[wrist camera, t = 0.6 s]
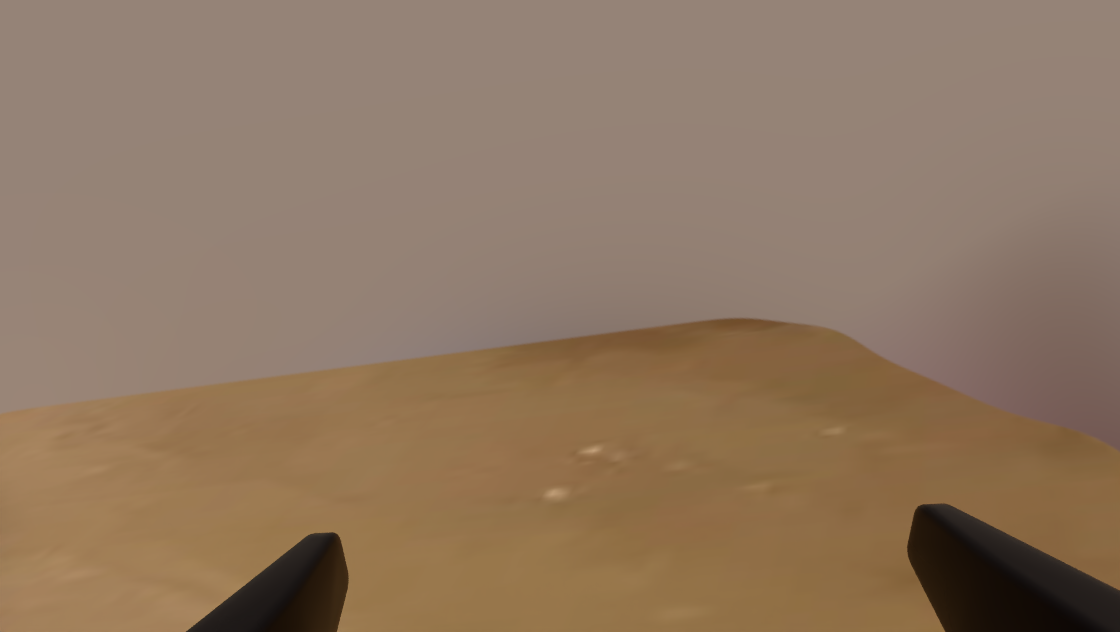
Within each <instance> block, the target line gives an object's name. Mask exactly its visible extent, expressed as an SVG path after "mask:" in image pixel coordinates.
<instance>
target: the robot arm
mask: <svg viewBox="0 0 1120 632" xmlns="http://www.w3.org/2000/svg"><path fill="white" fill-rule="evenodd" d="M907 552H908V557H909V560H910V563H911V565H912V567H913V569H914V571H915V573H916V575H917V577H918V579H919V581H920V583H921V585H922V587H923V589H924V591H925V593H926V595H927V597H928V599H929V601H930V603H931V604H932V606H933V608H934V610H935V612H936V614H937V616H938V618H939V620H940V622H941V624H942V626H943V628H944V630H945V632H1120V591H1119V590H1118V589H1116V588H1114V587H1112V586H1110V585H1108V584H1106V583H1104V582H1102V581H1100V580H1098V579H1096V578H1094V577H1092V576H1090V575H1088V574H1086V573H1084V572H1082V571H1080V570H1078V569H1076V568H1074V567H1072V566H1070V565H1068V564H1066V563H1064V562H1062V561H1060V560H1058V559H1056V558H1054V557H1052V556H1050V555H1048V554H1046V553H1044V552H1042V551H1040V550H1038V549H1036V548H1034V547H1032V546H1030V545H1028V544H1026V543H1024V542H1022V541H1020V540H1018V539H1016V538H1014V537H1012V536H1010V535H1008V534H1006V533H1004V532H1002V531H1000V530H998V529H996V528H994V527H992V526H990V525H988V524H986V523H984V522H982V521H980V520H979V519H977V518H975V517H973V516H971V515H969V514H967V513H965V512H963V511H961V510H959V509H957V508H955V507H953V506H951V505H948V504H923V505H920V506H918V507H917V509H916V510H915V513H914V517H913V521H912V526H911V531H910V535H909V540H908V545H907ZM348 579H349V578H348V570H347V565H346V561H345V557H344V552H343V548H342V544H341V540H340V537H339V536H338V534H336V533H333V532H332V533H314V534H310V535H308V536H307V537H305V538H304V539H303V540H301V541H300V542H299V543H298V544H296V545H295V546H294V547H293V548H291V549H290V550H289V551H288V552H286V553H285V554H284V555H282V556H281V557H280V558H279V559H277V560H276V561H275V562H274V563H272V564H271V565H270V566H269V567H267V568H266V569H265V570H263V571H262V572H261V573H260V574H258V575H257V576H256V577H255V578H253V579H252V580H251V581H250V582H248V583H247V584H246V585H245V586H243V587H242V588H241V589H239V590H238V591H237V592H236V593H234V594H233V595H232V596H231V597H229V598H228V599H227V600H226V601H224V602H223V603H222V604H220V605H219V606H218V607H217V608H215V609H214V610H213V611H212V612H210V613H209V614H208V615H207V616H205V617H204V618H203V619H202V620H200V621H199V622H198V623H196V624H195V625H194V626H193V627H191V628H190V629H189V630H188V631H186V632H337V629H338V625H339V621H340V617H341V613H342V609H343V605H344V601H345V597H346V593H347V589H348Z"/></svg>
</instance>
